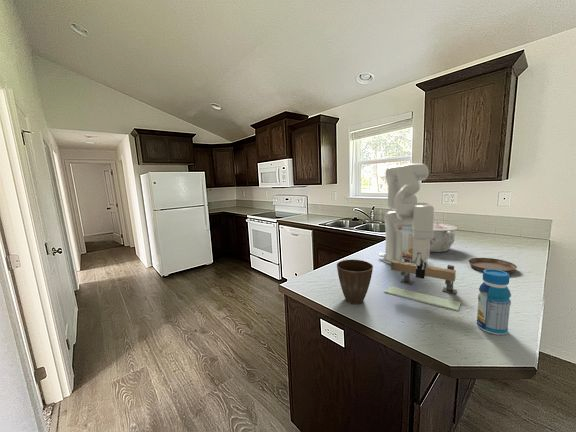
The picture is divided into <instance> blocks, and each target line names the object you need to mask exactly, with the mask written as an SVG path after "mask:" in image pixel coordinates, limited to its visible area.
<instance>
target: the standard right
mask: <svg viewBox="0 0 576 432" xmlns="http://www.w3.org/2000/svg"><path fill="white" fill-rule="evenodd" d="M446 267H447V268H446V269H451V270H455V265H451V264H447V266H446ZM454 283H455V282H454V281H449V280H444V284H445V285H446V287H445V286H444V287H443V288H442V292H444V293H448V294H453V295H457V291H458V290H457V289H454Z"/></svg>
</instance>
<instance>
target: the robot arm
mask: <svg viewBox="0 0 576 432" xmlns="http://www.w3.org/2000/svg"><path fill="white" fill-rule="evenodd" d="M429 173H430V171H429V167H428V166H427V165H426V164H425V163H407V164H405V163H404V164H402V165H393V166H389V167H388V168H386V169H385V180H386V183H387V186H388V188H387V189H388V191H387V207H388V209H390V210H391V211H387V212H386V213H385V214H384V217H383V219H384V228H385V252H384V253H382V252H379V253H378V256H379V257H381V258H382V262H383V263H385V264H389V265H391V262H392V261H393V260H396V261H402V262H404V259H405V258H403V256H402V232H401V231H400V230H399V229H398V227H411V226H413V236H412V237H413V238H414V244H413V255H412V259H411V261H412V263H413V262H416V263H415V264H416V274H415V278H416V279H422V280H424V279H425V277H426V276H425V270H424V265H427V266H428V263H427V262H428V260H429V259H430V253H431V252H430V240H431V239H433V223H434V222H433V221H435V218H434V214H435V208H434V206H433V205H431V204H429V203H428V202H418V197H417V195H416V194H417V193H418V192H420V189H421V184H420V182H419V181H426V180H427V178H428V177H429ZM392 210H393V211H392Z"/></svg>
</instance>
